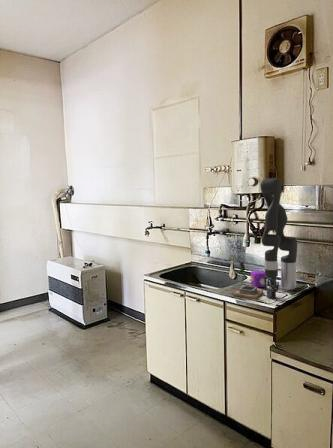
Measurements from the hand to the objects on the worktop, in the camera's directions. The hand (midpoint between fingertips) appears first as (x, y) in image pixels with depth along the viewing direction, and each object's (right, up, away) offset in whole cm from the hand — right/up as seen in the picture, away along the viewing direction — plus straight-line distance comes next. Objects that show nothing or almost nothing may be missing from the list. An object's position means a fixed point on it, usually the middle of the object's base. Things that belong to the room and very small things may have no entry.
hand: (271, 296), depth 203 cm
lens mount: (-12, -1, +8) cm, 14 cm away
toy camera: (0, +1, +24) cm, 24 cm away
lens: (0, -1, 0) cm, 1 cm away
